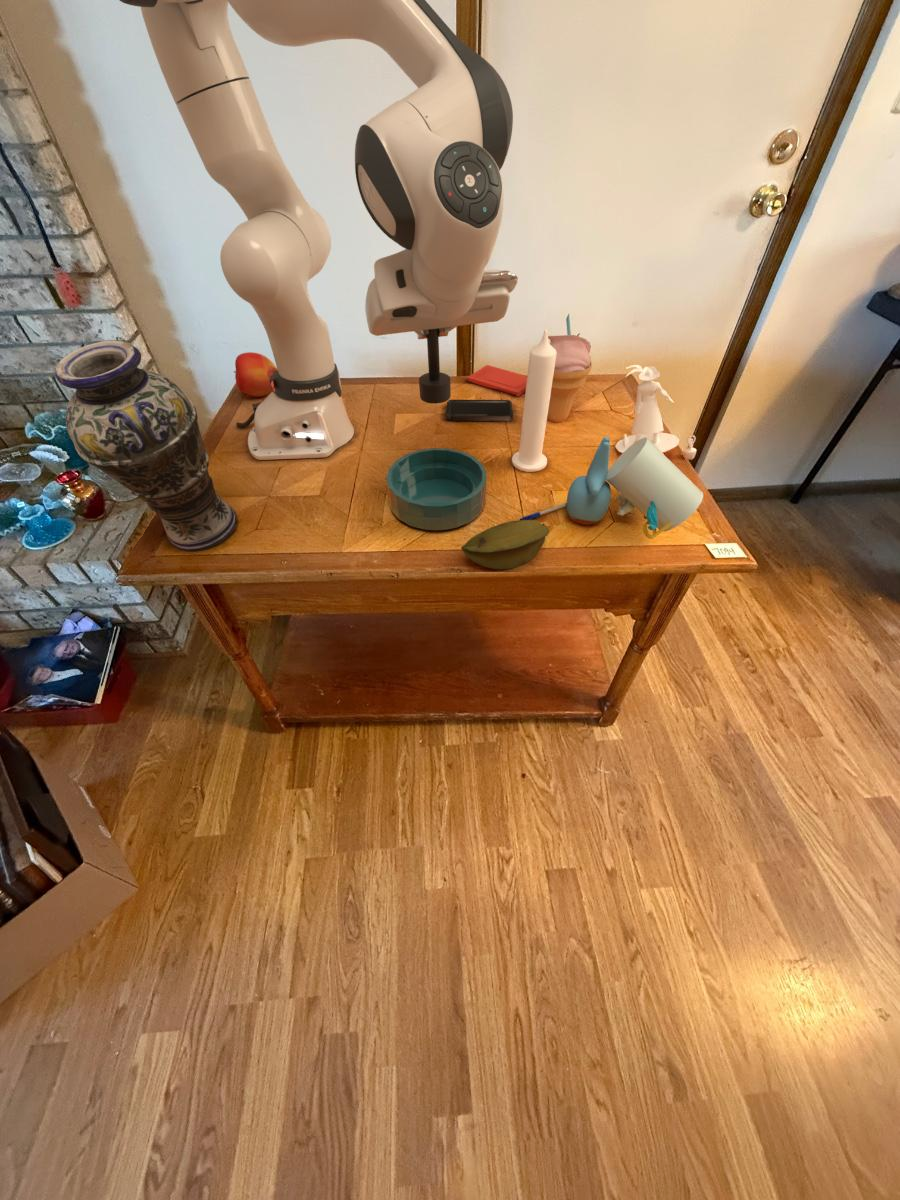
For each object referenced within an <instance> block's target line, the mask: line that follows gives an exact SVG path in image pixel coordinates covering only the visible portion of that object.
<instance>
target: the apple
mask: <svg viewBox="0 0 900 1200" xmlns="http://www.w3.org/2000/svg"><path fill="white" fill-rule="evenodd" d="M234 361H235V363H234V365H235V370H234V371H233V373H235V375H234V377H235V383H236V386H237V388H238V390H239V391H240V392H242V393H243V394H244V395H245V394H246V395H248V396H251V397H259V398H261V397H267V396H268V395H269V394H270V393H271V392H272V388H271V385H270V380H269V378H268V376H267V370H268V368H269V367H275V369H277V366H276V364H275V363H274V362H273V361H272V360H271V359H270V358H268V357H267V356H265V355H263V354H261V353H258V352H251V351H249V352H242V353H240V354H239V355H237V356H236V358H235V360H234Z"/></svg>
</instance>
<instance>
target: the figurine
mask: <svg viewBox="0 0 900 1200" xmlns="http://www.w3.org/2000/svg"><path fill="white" fill-rule="evenodd" d="M632 368H633V369H632ZM626 369H631V370H630V371H629V372H627V374H626V375H625V378H627V377H628V376H629V375H631V374H633V373H636V372H637V373H638V372H640V373H639V375H638V380H640V381H642V382H641V383H639V384H638V385H637V388H636V399H635V406H634V411H633V413H634V418H633V422H632V425H631V432H630V434H631V435H627V433H624V434H623V438H622V439H620V440H618V442H616V444H615V446H614V448H615V449H616V450H617V451H618V452H619V453H621V454H622V453H623V452H624V451H626V450H627V449H628V448H629V447H630V446H631V445H633V444H634V443H635V442H637V441H638V440H640V439H642V438H647V439H648V440H649V441H650V442H651V443H652V444H653V445H654V446H655V447H656V448H658V449H659V450H660V451H661V452H662V453H665V452H668V451H670V450H672V449H674V448H676V447H678V445H679V443H680V441H681V439H680V438H678V437H677V436H676V435H675V434H672V433H667V432H664V423H663V419H662V415H661V411H660V408H659V403H658V401H657V397H656V392H657V393H659V394H660V396H662V398H665V400H664V402H665V403H666V402H667V401H668V402H671V403H672V404H675V402H674V400H673V399H672V398H671V396H670V395H669V394H668V392H667V390H665V389H663V387H662V386H661V383H660V381H659V382H658V381H655V380H657V379H658V378H659V377H660V376H661V373H660V371H658V369H656V367H655V366H654V365H651V366H645V367H643V368H642V366H641V365H639V364H632V365H629V366H626ZM686 441H687V443H688V444H687V447H686V448H684V449H683V451H682V453H683V458H684V459H685V458H686V460H687V461H692V460H694V458H695V457H696V454H697V451H698V450H697V449H696V448H695V447H694V443H695V442H696V436H695V435H693V434H691V435H689V436H688V437H687V439H686Z"/></svg>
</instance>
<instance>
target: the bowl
mask: <svg viewBox="0 0 900 1200" xmlns="http://www.w3.org/2000/svg"><path fill="white" fill-rule="evenodd" d="M387 469H388V471H387V473H386V477H385V480H386V487H387V496H388V503H389V506H390V511H391V512H392V513H393V515H394V516H395V517H396V518H397V519H398V520H399V521H401V522H403V523H405V524H406V525H408V526H409V527H412V528H417V529H421V530H425V531H444V530H445V531H446V530H451V529H456V528H459V527H462V526H464V525H466V524H469V523H471V522H472V521H474V520H475V519H476V518H477V517H478V516H480V515H481V513H482V512H483V510H484V508H485V506H486V498H487V497H486V496H487V477H488V476H487V475H488V474H487V473H488V472H487V470H486V469H485V466H484V464H483V463H482V462H481V461H480V460H478V458H476V457H475V456H474V455H471V454H469V453H467V452H465V451H462V450H457V449H453V448H448V447H430V448H424V449H418V450H414V451H411V452H408V453H406V454H404V455H403V456H401V457H399V458H398V459H396V460H395V461H394V462H393V463H392V464H391V466H390V467H388V468H387Z"/></svg>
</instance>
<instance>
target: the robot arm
mask: <svg viewBox="0 0 900 1200" xmlns="http://www.w3.org/2000/svg"><path fill="white" fill-rule="evenodd" d="M119 1H120V3H123V4H125V5H129V6H133V7H139V8H140V11H141V15H142V19H143V21H144V24H145V28H146V31H147V34H148V37H149V39H150V43H151V46H152V49H153V52H154V55H155V57H156V59H157V62H158V65H159V69H160V71H161V73H162V75H163V78H164V81H165V84H166V85H167V87H168V90H169V93H170V94H171V97H172V99H173V102H174V103H175V105H176V108H177V110H178V113H179V114H180V116H181V119H182V121H183V123H184V125H185V127H186V130H187V131H188V134H189V136H190V138H191V140H192V142H193V144H194V147H195V149H196V151H197V154H198V156H199V158H200V160H201V162H202V164H203V166H204V169H205V170H206V172H207V174H208V175H209V176H210V177H211V179H212V180H213V181H214V182H216V183H217V184H218V185H220V186H221V187H222V188H223V189H224V190H226V191H227V192H228V193H229V194H230V196H231V197H232V198H233V199H234V201H235V202H236V203H237V205H238V207H239V208H240V209H241V211H242V212H243V214H244V216H245V217H246V219H247V220H246V221H243V222H241V223H239V224H238V225H237V226H236V227H235V228H234V229H233V230H232V232H231V233H230V234H229V235H228V237H227V238H226V239H225V241H224V242H223V244H222V246H221V250H220V255H219V256H220V257H219V258H220V259H219V260H220V266H221V271H222V273H223V275H224V278H225V280H226V282H227V284H228V285H229V287H230V288H231V289H232V291H233V292H234V293H235V294H236V295H237V296H238V297H239V298H241V299H242V300H243V301H245V302H246V303H248V304H249V305H250V306H251V307H252V308H253V311H255V313H256V315H257V316H258V318H259V320H260V322H261V325H262V326H263V328H264V330H265V332H266V335H267V338H268V341H269V345H270V349H271V352H272V356H273V358H274V364H275V366H276V368H277V369H275V367H269V368H268V370H267V376H268V378H269V380H270V385H271V388H272V392H271V393H270V394H268V395H266V396H265V398H264V399H263V400H262V402H257V403H252V404H251V406H252V409H253V412H252V413H251V415H250V416H249V417H248V419H247V420H246V421H245V422H238V421H237V422H236V423H235V425H236V427H239V428H246V427H249V425H251V424H252V423H253V424H254V425H253V427H252V428H251V429H250V431H249V432H248V437H247V446H248V450H249V454H250V455H251V457H253V458H254V459H255V460H257V461H273V460H293V459H294V460H296V459H318V458H319V459H320V458H329V456H331V455H332V454H333V453H334V452H335V451H336V450H337V449H339V448H341V447H342V446H344V445H346V444H347V443H349V441H350V440H351V439H353V437H354V434H355V428H354V426H353V424H352V422H351V420H350V418H349V415H348V413H347V409H346V406H345V404H344V400H343V396H342V394H343V393H342V391H343V388H342V381H341V377H340V371H339V370H338V365H337V363H335V360H334V354H333V353H334V352H333V348H332V342H331V338H330V332H329V326H328V324H327V322H326V321H325V319H324V318H323V317H322V316H321V315H319V314H318V313H317V311H316V309H315V307H314V305H313V303H312V300H311V298H310V293H309V291H308V282H309V281H310V280H311V279H313V278H314V277H316V275H318V274H319V273H320V272H321V271H322V269H323V268H324V266H325V265H326V263H327V261H328V258H329V256H330V253H331V249H332V237H331V233H330V229H329V226H328V224H327V223H326V221H325V219H324V217H323V216H322V215H321V214H320V213H319V212H318V211H317V209H315V208H314V207H313V206H311V204H309V202H308V201H307V199H306V198H305V195H304V194H303V192H302V191H301V189H300V188H299V186H298V184H297V183H296V181H295V179H294V178H293V176H292V174H291V172H290V170H289V168H288V167H287V165H286V163H285V161H284V160H283V157H282V156H281V154H280V151H279V149H278V147H277V145H276V142H275V140H274V137H273V135H272V133H271V130H270V127H269V125H268V121H267V120H266V117H265V114H264V112H263V109H262V107H261V104H260V101H259V98H258V97H257V94H256V91H255V88H254V86H253V83H252V80H251V78H250V75H249V73H248V70H247V67H246V65H245V62H244V60H243V58H242V55H241V53H240V50H239V47H238V46H237V44H236V41H235V39H234V36H233V33H232V30H231V27H230V26H231V25H230V22H229V15H228V13H229V12H228V10H229V9H228V7H229V5H230V6H231V8H232V9H233V10H234V12H235V13H236V14H237V16H238V17H239V18H240V19H241V20H242V21H243V23H245V24H246V25H247V27H249V28H250V29H251V30H252V31H253V32H255V33H256V34H257V35H258V36H259V37H261V38H262V39H264V40H266V41H267V42H270V43H272V44H275V45H278V46H283V47H290V48H297V47H304V46H309V45H313V44H318V43H322V42H328V41H329V42H330V41H337V40H338V41H339V40H359V41H365V42H369V43H372V44H373V45H376V46H377V47H379V48H380V49H382V50H383V51H384V52H385V53H386V54H387V55H389V57H390V59H392V60H393V62H394V63H395V64H396V65H397V66H398V67H399V68H400V70H402V71H403V73H404V74H405V75H406V76H407V77H408V78H409V80H411V82H412V83H413V84H414V85H415V86H416V89H415V90H413V91H412V92H410V93H409V94H407V95H406V96H404V97H402V98H401V99H399V100H396V101H395V102H393V103H392V104H390V105H389V106H387V107H386V108H384V109H382V110H381V111H380V112H378V113H377V114H376V115H374V116H372V117H371V118H370V119H368V120H367V121H366V122H365V123H364V124H362V125H360V126H359V128H358V132H357V134H356V140H355V144H354V145H355V146H354V172H355V178H356V179H355V180H356V184H357V188H358V192H359V195H360V198H361V200H362V203H363V205H364V208H365V209H366V211H367V213H368V214H369V216H370V218H371V219H372V220H373V222H374V223H375V225H376V226H377V227H378V228H379V230H380V231H381V232H382V233H383V234H384V235H386V236H387V237H388V238H389V239H390V240H392V241H393V242H395V244H397V245H399V246H400V247H401V248H403V250H401V251H398V252H396V253H393V254H390V255H387V256H384V257H380V258H377V260H375V261H374V264H373V270H374V272H373V273H374V278H373V279H372V280H371V281H370V282H369V285H368V286H367V290H366V296H365V303H364V312H365V317H366V323H367V328H368V331H369V333H370V334H371V335H373V336H377V337H379V336H386V335H394V334H402V333H403V334H405V333H410V332H411V333H412V332H414V333H415V334H416V336H417V339H418V340H425V339H426V340H427V338H428V335H429V333H428V330H429V329H437V328H438V337H439V338H441V337H442V338H443V337H448V335H449V333H450V332H451V331H453V330H454V329H456V328H457V327H461V326H471V325H478V324H486V323H495V322H499V321H500V320H502V319H503V318H505V316H506V314H507V311H508V308H509V304H510V297H511V296H510V293H512V292H513V291H514V289H516V286H517V284H518V279H519V278H518V276H517V274H516V273H511V271H510V270H501V269H489V270H485V268H486V267H487V266H488V263H489V262H490V259H491V257H492V254H493V251H494V248H495V246H496V243H497V239H498V236H499V232H500V228H501V225H502V219H503V212H504V183H503V177H502V174H501V172H500V171H501V170H502V168H503V166H504V163H505V161H506V158H507V155H508V153H509V149H510V146H511V141H512V136H513V135H512V134H513V127H514V126H513V124H514V112H513V111H514V110H513V104H512V100H511V96H510V93H509V90H508V88H507V86H506V83H505V82H504V80H503V77H501V75H500V74H499V72H498V71H497V70H496V69H495V67H494V66H493V65H492V64H491V63H489V61H488V60H486V59H485V58H484V57H482V56H481V55H480V54H479V53H477V52H476V51H474V49H472V48H471V47H469V46H468V45H467V44H465V43H464V41H462V40H461V39H460V38H459V37H458V36H457V35H456V34H455V33H454V31H453V30H452V29H451V28H450V27H449V25H447V23H446V22H445V21H444V20H443V19H442V18H441V17H440V15H439V14H438V13H437V12H436V11H435V9H433V7H432V6H431V5H430V4H429V3H428V2H427V1H426V0H119Z"/></svg>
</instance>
